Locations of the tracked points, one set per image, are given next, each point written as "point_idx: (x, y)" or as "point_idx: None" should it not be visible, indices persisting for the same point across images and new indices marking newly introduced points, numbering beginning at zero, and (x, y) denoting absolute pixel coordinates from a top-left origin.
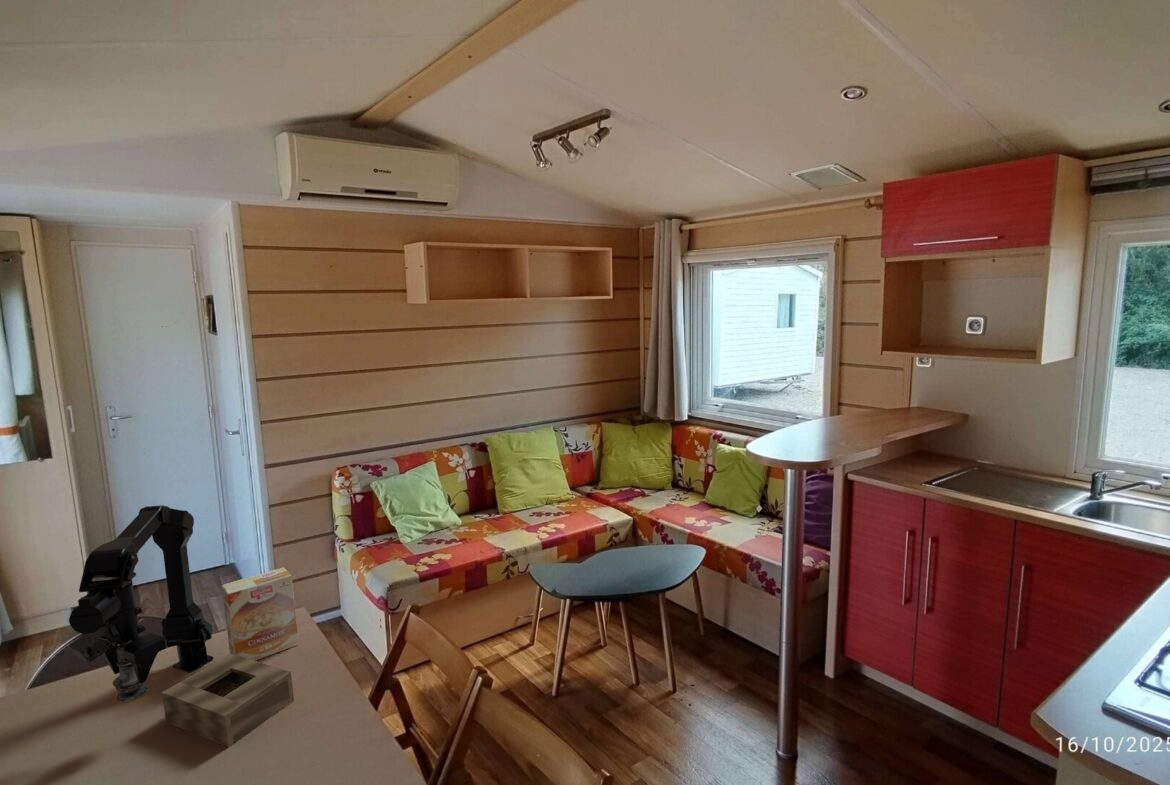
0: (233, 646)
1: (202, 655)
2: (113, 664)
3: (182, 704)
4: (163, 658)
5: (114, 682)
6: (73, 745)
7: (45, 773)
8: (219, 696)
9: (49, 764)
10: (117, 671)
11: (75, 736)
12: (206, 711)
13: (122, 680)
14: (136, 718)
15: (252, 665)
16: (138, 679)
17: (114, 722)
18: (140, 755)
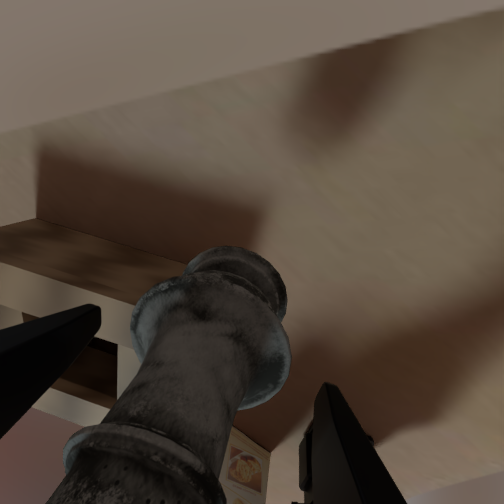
0: (221, 479)
1: (302, 462)
2: (338, 459)
3: (119, 289)
4: (424, 464)
5: (250, 308)
6: (416, 174)
7: (408, 41)
8: (31, 313)
9: (430, 83)
10: (322, 400)
11: (442, 209)
12: (15, 261)
13: (189, 318)
14: (316, 285)
15: (81, 415)
16: (62, 316)
17: (365, 269)
18: (188, 167)
